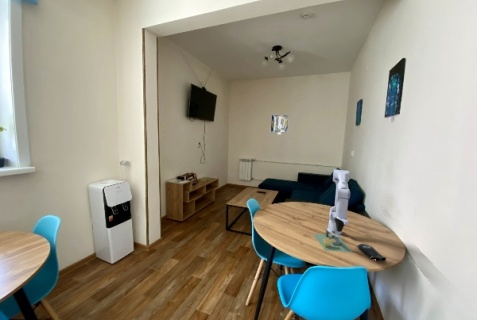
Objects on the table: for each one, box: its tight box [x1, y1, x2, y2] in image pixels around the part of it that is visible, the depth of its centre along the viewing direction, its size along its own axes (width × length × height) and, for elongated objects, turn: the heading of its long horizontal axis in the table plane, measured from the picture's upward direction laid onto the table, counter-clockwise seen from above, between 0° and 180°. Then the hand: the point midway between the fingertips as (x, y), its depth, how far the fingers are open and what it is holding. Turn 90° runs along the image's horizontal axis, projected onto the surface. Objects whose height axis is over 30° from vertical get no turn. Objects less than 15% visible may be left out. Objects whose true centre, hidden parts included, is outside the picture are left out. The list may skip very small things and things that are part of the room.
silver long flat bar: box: [328, 232, 343, 239], centre depth 123 cm, size 14×2×1 cm, turn 178°
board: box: [313, 229, 354, 253], centre depth 122 cm, size 20×16×5 cm
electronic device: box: [356, 243, 387, 262], centre depth 113 cm, size 9×6×15 cm
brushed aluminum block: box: [329, 237, 342, 245], centre depth 122 cm, size 6×5×2 cm
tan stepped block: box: [323, 238, 336, 248], centre depth 117 cm, size 3×6×4 cm, turn 88°
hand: (339, 231), depth 118 cm, fingers closed
